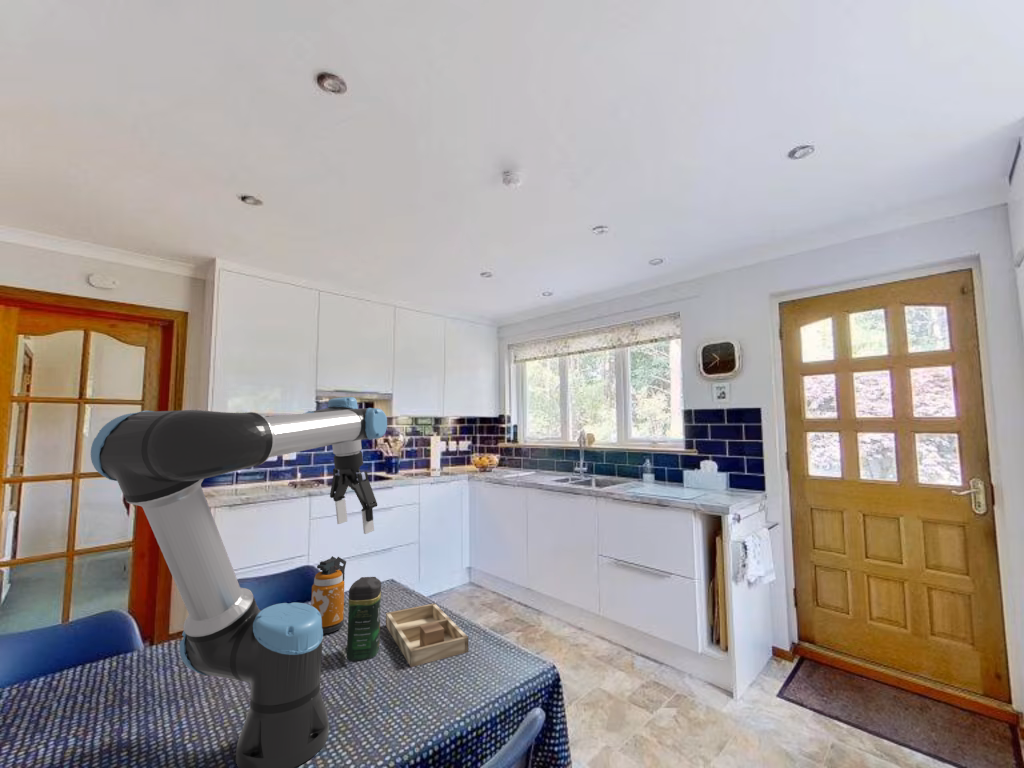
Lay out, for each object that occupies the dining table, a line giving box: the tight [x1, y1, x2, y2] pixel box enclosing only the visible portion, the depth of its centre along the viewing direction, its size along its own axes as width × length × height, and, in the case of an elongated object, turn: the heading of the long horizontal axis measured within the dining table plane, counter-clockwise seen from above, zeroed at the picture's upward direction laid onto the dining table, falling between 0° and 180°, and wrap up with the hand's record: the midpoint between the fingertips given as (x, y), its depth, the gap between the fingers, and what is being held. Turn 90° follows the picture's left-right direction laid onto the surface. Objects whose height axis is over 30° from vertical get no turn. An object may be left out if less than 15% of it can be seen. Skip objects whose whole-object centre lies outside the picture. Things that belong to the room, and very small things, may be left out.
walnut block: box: [420, 622, 444, 647], centre depth 116 cm, size 5×5×5 cm
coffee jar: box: [346, 576, 382, 662], centre depth 116 cm, size 10×8×19 cm
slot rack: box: [385, 603, 469, 668], centre depth 122 cm, size 27×15×4 cm, turn 28°
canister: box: [310, 556, 347, 635], centre depth 132 cm, size 9×11×20 cm
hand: (355, 527), depth 124 cm, fingers open, 13 cm apart
